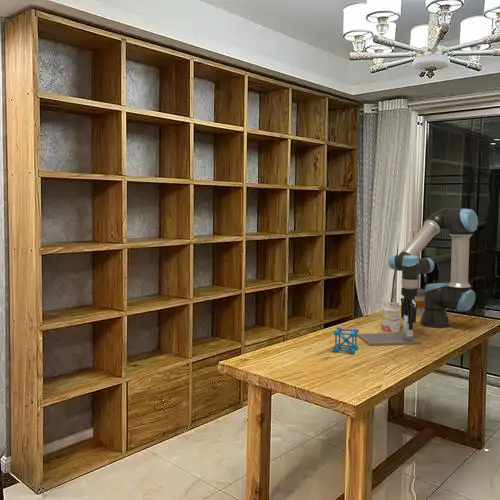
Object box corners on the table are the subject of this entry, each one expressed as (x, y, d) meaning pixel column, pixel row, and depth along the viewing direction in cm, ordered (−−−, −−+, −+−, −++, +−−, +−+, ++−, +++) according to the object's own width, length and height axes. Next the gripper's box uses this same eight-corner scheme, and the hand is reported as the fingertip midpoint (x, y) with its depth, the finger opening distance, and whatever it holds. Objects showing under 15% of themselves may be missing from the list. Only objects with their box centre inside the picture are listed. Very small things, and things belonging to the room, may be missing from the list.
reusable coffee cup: (405, 316, 315) (406, 291, 314) (403, 311, 328) (403, 287, 326) (427, 317, 313) (428, 292, 312) (424, 312, 326) (425, 288, 324)
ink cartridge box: (383, 331, 279) (384, 304, 277) (381, 329, 284) (382, 302, 282) (399, 332, 278) (400, 304, 276) (398, 329, 283) (399, 302, 281)
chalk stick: (409, 338, 260) (410, 314, 259) (413, 340, 256) (413, 316, 255) (401, 338, 260) (402, 314, 258) (405, 340, 256) (406, 316, 255)
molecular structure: (332, 352, 240) (333, 330, 239) (337, 346, 249) (337, 325, 248) (354, 354, 236) (355, 333, 235) (358, 349, 246) (359, 328, 245)
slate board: (405, 334, 272) (405, 332, 272) (421, 344, 255) (421, 341, 255) (356, 336, 269) (356, 333, 268) (370, 345, 251) (370, 343, 251)
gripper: (394, 284, 263) (393, 330, 265) (409, 290, 247) (407, 339, 249) (409, 284, 264) (407, 330, 266) (425, 290, 248) (422, 339, 250)
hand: (407, 334), depth 258 cm, fingers closed on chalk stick, 4 cm apart
